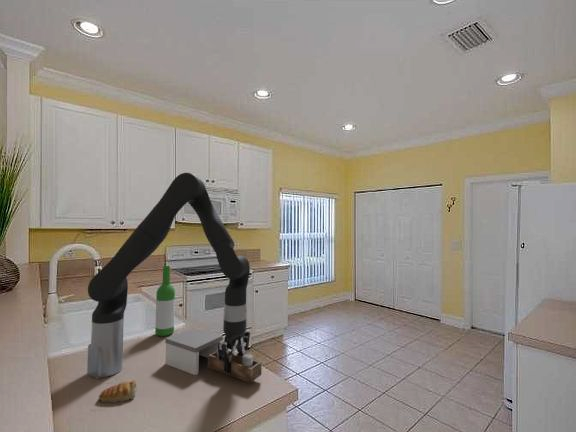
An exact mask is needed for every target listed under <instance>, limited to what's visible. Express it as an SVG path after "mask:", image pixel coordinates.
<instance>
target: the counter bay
mask: <svg viewBox="0 0 576 432" xmlns="http://www.w3.org/2000/svg"><path fill="white" fill-rule="evenodd" d="M164 341H165V342H164V343H165V361H164V362H165V363H164V364H165V365H167V366H171V367H173V368H176V369H178V370H180V371H184V372H186V373H188V374H191V375H194V376H197V375H199V367H200V366H199V363H200V362H199V359H200V357H204V358H207V359H208V355H209V354H211V353H213V352H215V351H217V348H218V343H222V342H223V341H224V336H223V335H221V334H219V333H215V332H211V331H207V330H204V329H200V328H197V327H191V328H190V329H187V330H184V331H181V332H179V333H176V334H174V335H170V336H167V337H165V340H164ZM199 356H200V357H199Z"/></svg>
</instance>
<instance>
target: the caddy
mask: <svg viewBox="0 0 576 432" xmlns="http://www.w3.org/2000/svg"><path fill="white" fill-rule="evenodd" d="M222 356H223V355H222ZM227 357H229V354H228V355H227ZM262 365H263V362H262V361H259V360H256V359H254V356H253V354H250V353H248V354H244V356H240V355H237V353H234V354H233V355H232V359H231V373H229V374H228V373H225V372H224V362H222V361H219V355H218V348H217V351H215V352H213V353H211V354H209V355H208V358H207V368H209V369H211V370H214V371H218V372H220V373H223V374H224V375H225V374H226V375H229V376H231V377H234V378H237V379H240V380H243V381H244V382H248V383H252V382H254V381H256V380H257V378H259V377H260V376H261V375H262V372H263V371H262Z"/></svg>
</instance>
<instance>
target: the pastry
mask: <svg viewBox="0 0 576 432" xmlns="http://www.w3.org/2000/svg"><path fill="white" fill-rule="evenodd" d="M137 386H138V385H137V383H136V380H134V379H133V380H132V381H121V382H120V383H118V384H114V385H112V386H109V387H107V388H105V389H103V390H102V391H101V392H100V394H99V395H98V399H99V400H100V401H101V402H102V403H113V402H115V403H118V402H117V401H121V402H126V401H125V400H127V401H130V400H129V399H131V400H134V399H135V397H136V392H137V389H138V387H137ZM133 398H134V399H133Z"/></svg>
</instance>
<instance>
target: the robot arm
mask: <svg viewBox="0 0 576 432" xmlns="http://www.w3.org/2000/svg"><path fill="white" fill-rule="evenodd" d="M166 189H167V190H166V191H165V192H164V194H163V195H162V196H161V198H160V200H159V201H158V202H157V203H156V205H155V206H153V208H152V209H151V210H150V211H149V213H148V214H147V215H146V217H144V219H143V220H142V221H141V222H140V223H139V224H138V226H137V227H136V228H135V229H134V230H133V232H132V233H131V234H130V236H129V237H128V238H127V239H126V240H125V242H124V243H123V244H122V245H121V247H120V248H119V249H118V251H117V252H116V254H115V255H114V256H113V257H112V258H111V259H110V261H109V262H107V264H105V265H104V267H102V268H101V269H100V270H99V271H98V272H97V273H96V274H95V275H94V276H93V277H92V278H91V280H90V281H89V283H88V286H87V293H88V294H87V295H88V296H89V298H90V299H91V300H93V302H98V303H97V305H96V307H95V309H94V310H93V312H92V314H91V331H90V332H91V333H90V335H91V337H90V344H88V345H87V362H86V363H87V364H86V365H87V368H86V369H87V370H86V374H87V375H88V376H90V377H92V378H94V379H96V380H99V379H101V378H105V377H106V378H107V377H111V376H113V375H116V374H118V373H119V372H121V370H122V369H123V357H124V353H123V352H124V327H125V326H124V321H125V318H124V317H125V312H126V311H125V310H126V308H127V303H128V290H129V289H128V288H129V286H128V285H129V284H128V283H129V282H128V278H127V277H128V276H129V275H130V274H131V273H132V271H134V269H136V268H137V267H138V266H140V265H141V264H142V263H143V262H144V261H145V260H146V259H148V258H149V257H151V255H152V254H153V253H154V252H155V251H156V250H157V249H158V248H159V247H160V246H161V244H162V243H163V242H164V240H165V239H167V238H166V237H167V236H168V235H169V232H170V229H171V227H172V225H173V222H174V219H175V218H176V216H177V214H178V213H179V212H180V211H181V210H182V208H184V206H185V205H186V204H187V203H188V204H189V206H191V208H192V209H193V211H195V213H196V216H197V217H198V218H199V222H200V224H201V227H202V230H203V232H204V235H205V237H206V240H207V241H208V243H209V244H210V246H211V247H212V249H213V252H214V253H215V256H216V260H217V262H218V265H219V268H220V270H221V272H222V274H223V275H224V276H225V277H226V278H227V279H228V280H229V281H228V282H229V283H228V285H227V286H226V287H225V290H224V291H225V292H224V307H223V308H224V309H223V321H222V322H223V327H222V329H223V333H224V334H225V337H224V338H223V341H222V343H218V355H219V361H222V362H224V372H225V373H228V374H229V373H231V359H232V355H233V354H235V352H237V353H236V354H237V355H240V356H244V355H245V353H246V351H248V350H249V347H250V338H251V332H250V331H248V330H247V324H248V323H247V321H248V320H247V318H248V315H247V314H248V308H247V287H248V283H249V278H250V269H251V268H250V267H251V266H250V263H249V260H248V258H246V257H245V256H243V255H237V254H236V251H235V242H234V239H233V238H232V236H231V235H230V233H229V232H228V230H227V228H226V226H225V225H224V223H223V222H222V220H221V218H220V216H219V215H218V213H217V211H216V210H215V207H214V205H213V203H212V200H211V199H210V196H209V193H208V191H207V187H206V185H205V183H204V181H203V180H202V179H201V178H199V177H198V176H196V175H195V174H193V173H191V172H183V173H180V174H178V175H177V176H176V177H175V178H174V179H173V180H172V182H171V183H170V184H169V186H168V188H166ZM228 354H229V357H227V355H228ZM222 355H223V356H222ZM225 373H224V374H225ZM228 374H227V375H228Z"/></svg>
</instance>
